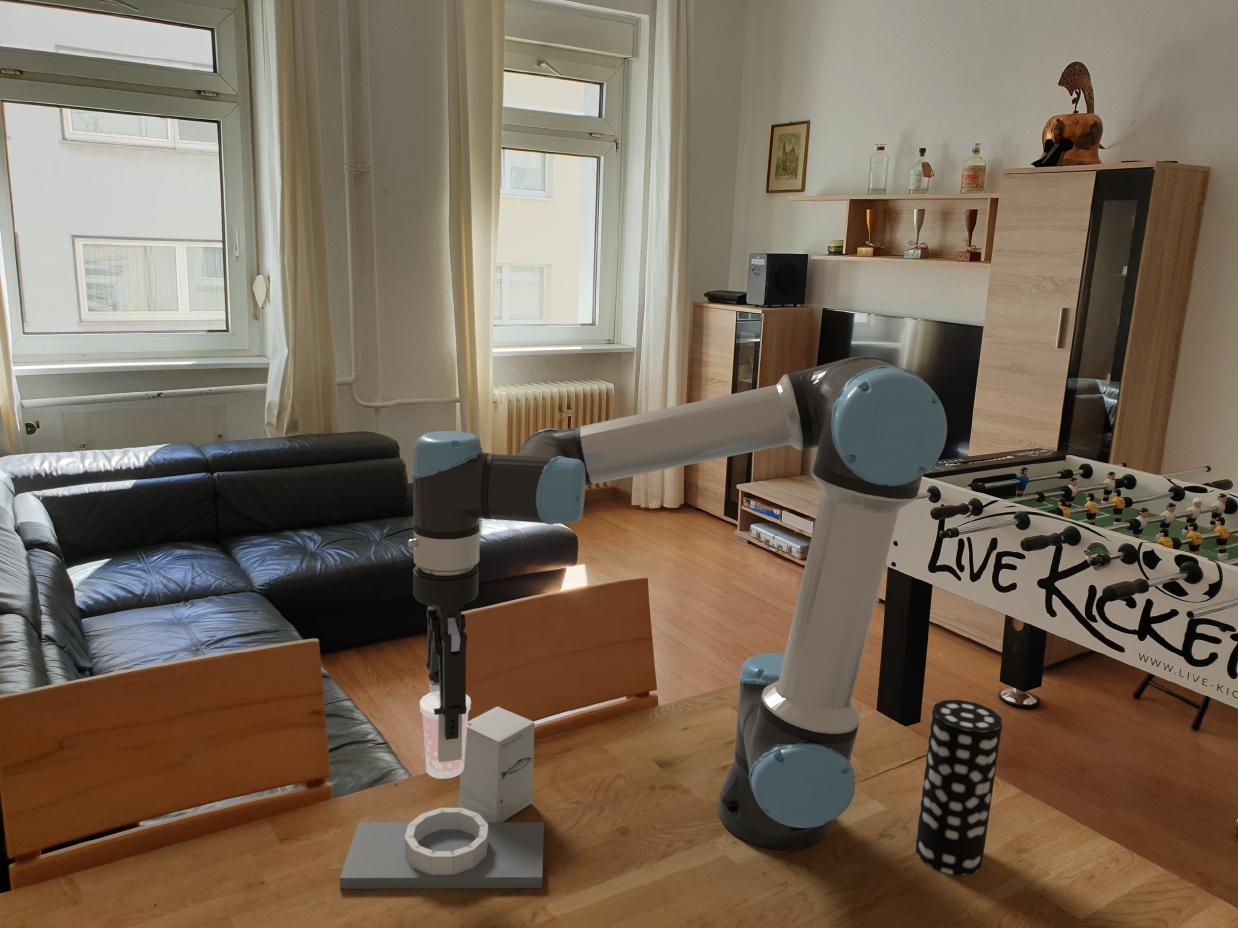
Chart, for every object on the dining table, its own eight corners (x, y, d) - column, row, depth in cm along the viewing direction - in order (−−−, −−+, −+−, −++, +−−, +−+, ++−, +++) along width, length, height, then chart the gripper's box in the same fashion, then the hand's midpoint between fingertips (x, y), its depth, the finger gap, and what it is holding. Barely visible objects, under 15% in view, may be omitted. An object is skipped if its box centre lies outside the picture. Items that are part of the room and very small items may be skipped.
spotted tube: (912, 864, 121) (930, 722, 117) (917, 828, 129) (934, 694, 124) (981, 882, 118) (1002, 737, 114) (982, 844, 126) (1002, 707, 121)
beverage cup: (440, 788, 111) (440, 679, 108) (409, 767, 115) (408, 661, 112) (480, 768, 116) (482, 663, 113) (449, 749, 120) (450, 647, 117)
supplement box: (496, 828, 125) (497, 742, 122) (457, 807, 129) (457, 723, 126) (534, 804, 131) (536, 721, 128) (495, 784, 135) (496, 703, 132)
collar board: (543, 832, 125) (544, 805, 124) (541, 887, 114) (542, 858, 113) (359, 832, 123) (358, 805, 122) (339, 888, 112) (338, 859, 111)
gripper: (403, 541, 117) (404, 711, 122) (425, 596, 100) (425, 792, 105) (463, 538, 120) (461, 704, 125) (495, 591, 102) (491, 782, 107)
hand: (445, 744), depth 115 cm, fingers closed on beverage cup, 6 cm apart
